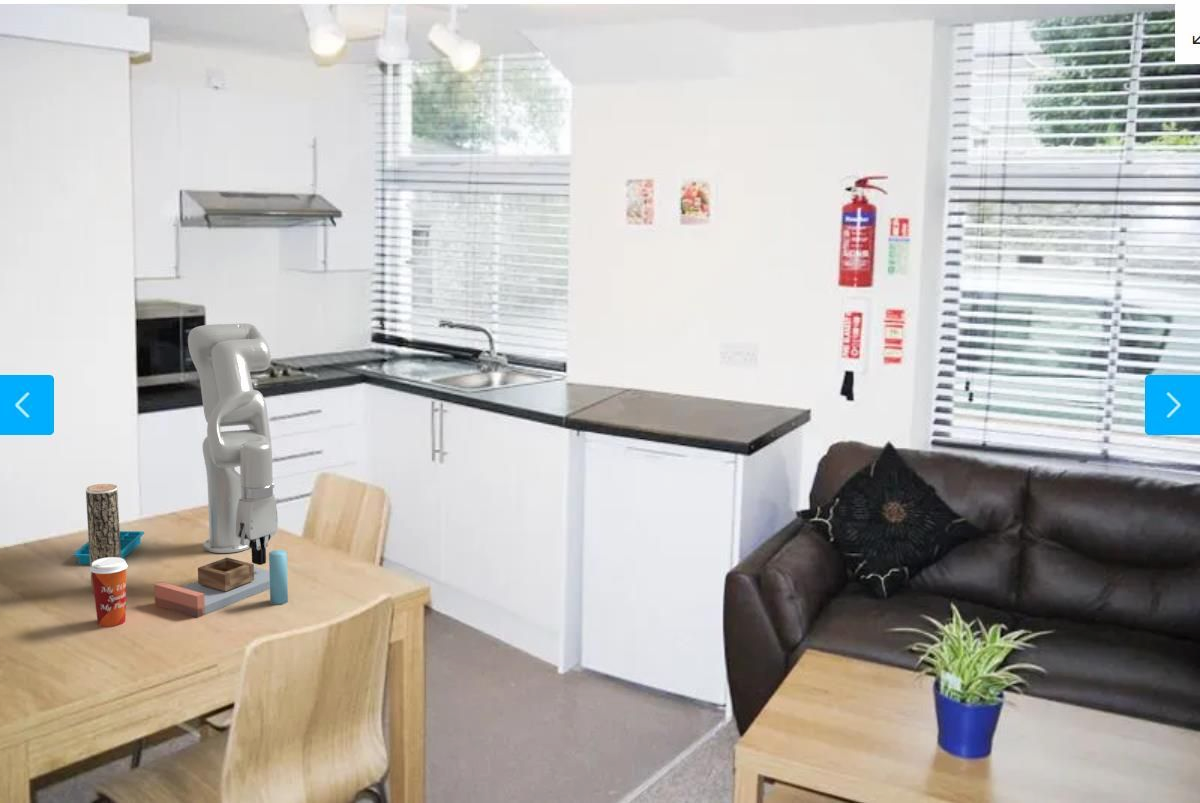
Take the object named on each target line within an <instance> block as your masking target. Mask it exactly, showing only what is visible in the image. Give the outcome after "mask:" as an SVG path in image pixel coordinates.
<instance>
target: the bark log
mask: <svg viewBox="0 0 1200 803" xmlns="http://www.w3.org/2000/svg"><path fill="white" fill-rule="evenodd" d="M85 500H86V502H85V503H86V517H87V535H88V536H87V537H88V542H89V555H90V564H89V569H90V568H91V565H92V563H93V562H94V561H96V560H98V559H102V558H108V557H118V558H121V550H120V531H121V530H120V516H119V514H120V512H119V495H118V486H117V485H116V484H113V483H112V484H111V483H99V484H92V485H90V486H87V487H85ZM89 572H90V584H91V586H90V587H91V589H92V590H93V591H94V588H93V580H92V572H91V571H90V570H89Z"/></svg>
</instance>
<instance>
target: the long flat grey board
mask: <svg viewBox="0 0 1200 803" xmlns="http://www.w3.org/2000/svg"><path fill="white" fill-rule="evenodd" d="M153 586H154V604H155V606H159V607H162V608H165V609H169V610H171V611H175V612H177V613H182V614H186V615H189V616H191V617H192V616H193V617H195V618H200V617H202V616H203V617H204V616H205V615H208V614H210V613H212V612H215V611H218V610H220V609H222V608H225V607H228V606H230V605H232V604H235V603H237V602H240V601H242V600H245V599H248V598H250V597H252V596H254V595H256V594H259V593H262V592H264V591H266V590H270V572H269V569H268V570H267V569H264V568H260V567H256V566H254V580H253V581H251V582H248V583H245V584H243V585H240V586H238V587H235V588H233V589H230V590H227V591H223V590H219V589H216V588H212V587H208V586H205V585H201V584H198V580H197V581H193V582H192V583H191V582H190V583H188V584H185V585H182V586H178V585H176V584H175V585H174V584H172V583H168V582H164V581H160V582H158V583H154V585H153Z"/></svg>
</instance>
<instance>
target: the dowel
mask: <svg viewBox="0 0 1200 803" xmlns="http://www.w3.org/2000/svg"><path fill="white" fill-rule="evenodd" d="M268 562H269V563H268V564H269V565H268V568H269V569H268V571H269V572H270V589H269V602H270V604H271V605H274V606H275V605H278V606H279V605H284V604H287V603H288V602H289V595H288V594H289V592H288V584H289V583H288V552H287V551H286V550H282V549H276V550H272V551H270V552H268Z"/></svg>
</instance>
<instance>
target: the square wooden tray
mask: <svg viewBox="0 0 1200 803" xmlns="http://www.w3.org/2000/svg"><path fill="white" fill-rule="evenodd" d="M254 565H255V564H254V563H250V562H246V561H242V560H238V559H235V558H231V557H224V558H221V559H219V560H216V561H213V562H211V563H208V564H205V565H202V566H199V567H197V579H198V580H197V581H198V584H201V585H205V586H208V587H212V588H216V589H219V590H223V591H227V590H230V589H233V588H235V587H238V586H240V585H243V584H245V583H248V582H251V581H253V580H254V567H255V566H254Z"/></svg>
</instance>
